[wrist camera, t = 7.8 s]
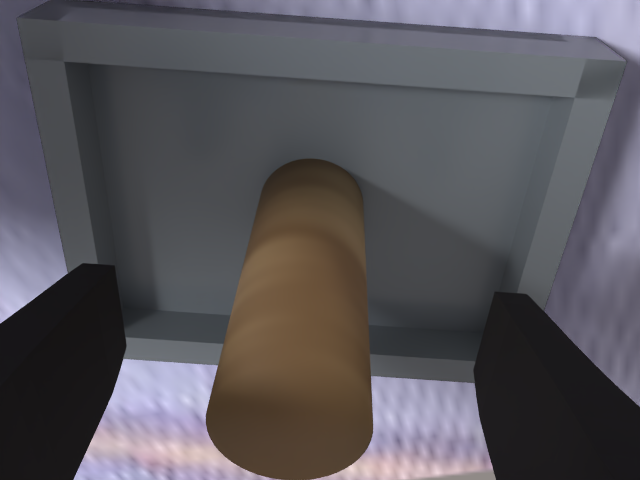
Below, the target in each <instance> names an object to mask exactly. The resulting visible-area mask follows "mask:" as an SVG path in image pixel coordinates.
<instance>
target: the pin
mask: <svg viewBox="0 0 640 480" xmlns="http://www.w3.org/2000/svg"><path fill="white" fill-rule="evenodd" d="M206 426H207V431H208V434H209V436H210V438H211V440H212V442H213V443H214V445H215V446H216V448H217V449H218V450H219V451H220V452H221V453H222V454H223V455H224V456H225V457H226V458H227V459H229V460H230V461H231V462H233V463H234V464H236V465H238V466H240V467H241V468H243V469H245V470H248V471H250V472H253V473H255V474H258V475H261V476H265V477H269V478H275V479H282V480H310V479H316V478H321V477H325V476H329V475H331V474H334V473H337V472H339V471H341V470H343V469H345V468H347V467H348V466H350V465H352V464H353V463H354V462H355V461H357V460H358V459H359V458H360V457H361V456H362V455H363V453H364V452H365V451H366V449H367V448H368V446H369V444H370V441H371V438H372V434H373V413H372V390H371V368H370V345H369V322H368V300H367V277H366V254H365V232H364V209H363V197H362V193H361V190H360V188H359V186H358V184H357V183H356V181H355V179H354V178H353V177H352V176H351V175H350V174H349V173H348V172H347V171H346V170H344V169H343V168H341V167H340V166H338V165H336V164H334V163H331V162H329V161H325V160H321V159H313V158H312V159H299V160H295V161H292V162H289V163H287V164H285V165H283V166H281V167H279V168H278V169H277V170H275V171H274V172H273V173H272V174H271V175H270V177H269V178H268V179H267V180H266V182H265V184H264V186H263V189H262V191H261V195H260V199H259V203H258V207H257V211H256V215H255V220H254V224H253V228H252V232H251V236H250V240H249V244H248V248H247V252H246V256H245V260H244V264H243V268H242V272H241V276H240V280H239V284H238V288H237V292H236V296H235V300H234V304H233V308H232V312H231V316H230V320H229V324H228V328H227V332H226V336H225V340H224V344H223V348H222V352H221V356H220V360H219V364H218V368H217V372H216V376H215V380H214V384H213V388H212V392H211V396H210V400H209V404H208V408H207V413H206Z"/></svg>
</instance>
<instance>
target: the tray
mask: <svg viewBox="0 0 640 480" xmlns="http://www.w3.org/2000/svg"><path fill="white" fill-rule="evenodd" d="M16 19H17V24H18V29H19V34H20V39H21V43H22V48H23V53H24V58H25V63H26V68H27V73H28V78H29V83H30V88H31V93H32V98H33V103H34V108H35V113H36V118H37V123H38V128H39V133H40V138H41V143H42V148H43V152H44V157H45V162H46V167H47V172H48V177H49V182H50V187H51V192H52V197H53V202H54V207H55V212H56V217H57V222H58V227H59V232H60V237H61V242H62V247H63V252H64V257H65V261H66V266H67V271H68V273H69V272H71V271H72V270H73V269H75V268H76V267H78V266H79V265H81V264H82V263H90V264H105V265H115V270H116V277H117V284H118V290H119V297H120V304H121V310H122V317H123V324H124V331H125V337H126V344H127V347H126V351H125V354H124V358H123V359H134V360H149V361H163V362H178V363H192V364H207V365H218V364H219V360H220V356H221V352H222V348H223V344H224V340H225V336H226V332H227V328H228V324H229V320H230V316H231V312H232V308H233V304H234V300H235V296H236V292H237V288H238V284H239V280H240V276H241V272H242V268H243V264H244V260H245V256H246V252H247V248H248V244H249V240H250V236H251V232H252V228H253V224H254V220H255V215H256V211H257V207H258V203H259V199H260V195H261V191H262V189H263V186H264V184H265V182H266V180H267V179H268V178H269V177H270V175H271V174H272V173H273V172H274V171H275V170H277V169H278V168H279V167H281V166H283V165H285V164H287V163H289V162H292V161H295V160H299V159H312V158H313V159H321V160H325V161H329V162H331V163H334V164H336V165H338V166H340V167H341V168H343V169H344V170H346V171H347V172H348V173H349V174H350V175H351V176H352V177H353V178H354V179H355V181H356V183H357V184H358V186H359V188H360V190H361V193H362V197H363V209H364V232H365V254H366V277H367V300H368V322H369V345H370V368H371V376H381V377H396V378H410V379H425V380H439V381H454V382H468V383H475V380H474V372H473V369H474V365H475V362H476V358H477V354H478V351H479V347H480V343H481V340H482V336H483V332H484V329H485V325H486V321H487V318H488V314H489V310H490V307H491V303H492V299H493V296H494V292H508V293H523V294H527V295H529V296H530V297H531V298H532V299H533V300H534V302H535V303H536V304H537V305H538V306H539V307H540V308H541V309H542V310H543V311H544V309H545V306H546V303H547V300H548V297H549V294H550V291H551V288H552V285H553V282H554V279H555V276H556V273H557V270H558V267H559V264H560V261H561V258H562V255H563V252H564V249H565V246H566V243H567V240H568V237H569V234H570V231H571V228H572V225H573V222H574V219H575V216H576V213H577V210H578V207H579V204H580V201H581V198H582V195H583V192H584V189H585V186H586V183H587V180H588V177H589V174H590V171H591V168H592V165H593V162H594V159H595V156H596V153H597V150H598V147H599V144H600V141H601V138H602V135H603V132H604V129H605V126H606V123H607V120H608V117H609V114H610V111H611V109H612V106H613V103H614V100H615V97H616V94H617V91H618V88H619V85H620V82H621V79H622V76H623V73H624V70H625V67H626V64H627V61H626V60H625V59H624V58H622V57H621V56H620V55H618V54H617V53H616V52H614V51H613V50H612V49H610V48H609V47H608V46H607V45H605V44H604V43H603V42H601V41H600V40H599V39H597V38H596V37H585V36H571V35H557V34H543V33H529V32H515V31H501V30H487V29H473V28H459V27H445V26H431V25H417V24H403V23H389V22H375V21H361V20H347V19H333V18H319V17H305V16H291V15H277V14H263V13H249V12H235V11H221V10H206V9H192V8H178V7H164V6H150V5H136V4H122V3H108V2H94V1H80V0H50V1H48V2H46V3H44V4H42V5H40V6H38V7H36V8H34V9H32V10H30V11H29V12H27V13H25V14H23V15H21V16H19V17H17V18H16Z"/></svg>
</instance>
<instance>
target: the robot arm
mask: <svg viewBox="0 0 640 480" xmlns="http://www.w3.org/2000/svg"><path fill="white" fill-rule="evenodd" d="M126 347H127V344H126V337H125V331H124V324H123V317H122V310H121V304H120V297H119V290H118V284H117V277H116V270H115V265H105V264H90V263H82V264H81V265H79V266H78V267H76V268H75V269H73V270H72V271H71V272H69V273H68V274H67V275H65V276H64V277H62V278H61V279H60V280H59V281H57V282H56V283H55V284H53V285H52V286H51V287H49V288H48V289H47V290H45V291H44V292H43V293H41V294H40V295H39V296H37V297H36V298H35V299H33V300H32V301H31V302H29V303H28V304H27V305H25V306H24V307H23V308H21V309H20V310H18V311H17V312H16V313H14V314H13V315H12V316H10V317H9V318H8V319H6V320H5V321H3V322H2V323H1V324H0V480H73V479H74V477H75V475H76V473H77V470H78V468H79V466H80V464H81V462H82V460H83V457H84V455H85V453H86V451H87V449H88V447H89V444H90V442H91V440H92V438H93V436H94V433H95V431H96V429H97V427H98V425H99V422H100V420H101V418H102V416H103V414H104V411H105V409H106V407H107V405H108V402H109V400H110V398H111V396H112V393H113V390H114V387H115V384H116V381H117V378H118V375H119V371H120V368H121V365H122V361H123V358H124V354H125V351H126ZM473 372H474V380H475V388H476V397H477V403H478V410H479V417H480V421H481V425H482V429H483V433H484V437H485V440H486V444H487V448H488V452H489V455H490V459H491V463H492V466H493V470H494V474H495V477H496V480H640V407H639V406H638V405H637V404H636V403H635V402H634V401H632V400H631V399H630V398H629V397H628V396H627V395H626V394H625V393H624V392H623V391H621V390H620V389H619V388H618V387H617V386H616V385H615V384H614V383H613V382H612V381H611V380H610V379H609V378H608V377H607V376H606V375H605V374H604V373H603V372H602V371H601V370H600V369H599V368H598V367H597V366H596V365H595V364H594V363H593V362H592V361H591V360H590V359H589V358H588V357H587V356H586V355H585V354H584V353H583V352H582V351H581V350H580V349H579V348H578V347H577V346H576V345H575V344H574V343H573V342H572V341H571V340H570V339H569V338H568V337H567V336H566V334H565V333H564V332H563V331H562V330H561V329H560V328H559V327H558V326H557V325H556V324H555V323H554V322H553V321H552V320H551V318H550V317H549V316H548V315H547V314H546V313H545V312H544V311H543V310H542V309H541V308H540V307H539V306H538V305H537V304H536V303H535V302H534V300H533V299H532V298H531V297H530V296H529V295H527V294H523V293H508V292H494V296H493V299H492V303H491V307H490V310H489V314H488V318H487V321H486V325H485V329H484V332H483V336H482V340H481V343H480V347H479V351H478V354H477V358H476V362H475V365H474V369H473Z"/></svg>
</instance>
